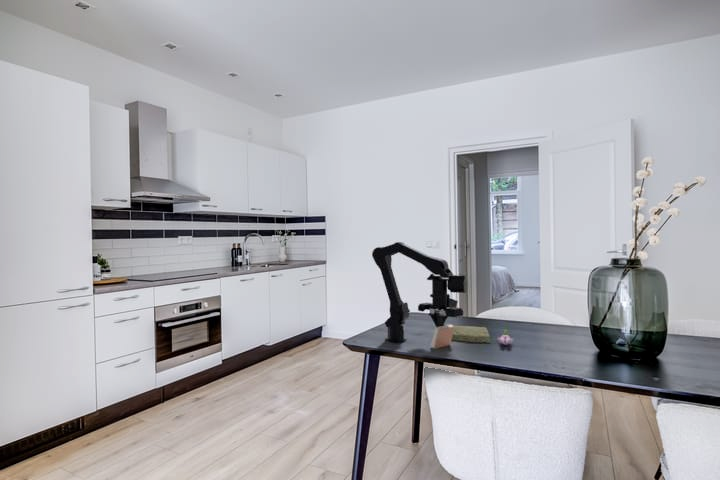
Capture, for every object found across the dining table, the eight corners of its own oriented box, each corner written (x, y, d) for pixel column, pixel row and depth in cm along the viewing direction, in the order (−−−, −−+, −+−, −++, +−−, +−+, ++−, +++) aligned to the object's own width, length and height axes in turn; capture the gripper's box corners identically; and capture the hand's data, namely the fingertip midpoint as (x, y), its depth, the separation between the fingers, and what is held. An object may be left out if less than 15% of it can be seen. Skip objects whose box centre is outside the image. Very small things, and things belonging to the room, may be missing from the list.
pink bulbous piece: (497, 342, 171) (496, 345, 157) (498, 328, 172) (496, 329, 158) (514, 344, 169) (513, 347, 155) (514, 329, 170) (513, 331, 156)
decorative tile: (440, 331, 187) (440, 323, 187) (486, 333, 183) (486, 325, 183) (440, 342, 169) (440, 333, 169) (491, 344, 165) (491, 335, 165)
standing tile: (430, 346, 159) (435, 327, 157) (446, 342, 164) (450, 324, 162) (434, 348, 157) (439, 330, 155) (449, 344, 163) (454, 326, 161)
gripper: (472, 292, 158) (472, 332, 158) (435, 287, 173) (436, 324, 173) (453, 295, 152) (453, 337, 152) (416, 290, 166) (417, 328, 166)
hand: (440, 331), depth 161 cm, fingers closed
